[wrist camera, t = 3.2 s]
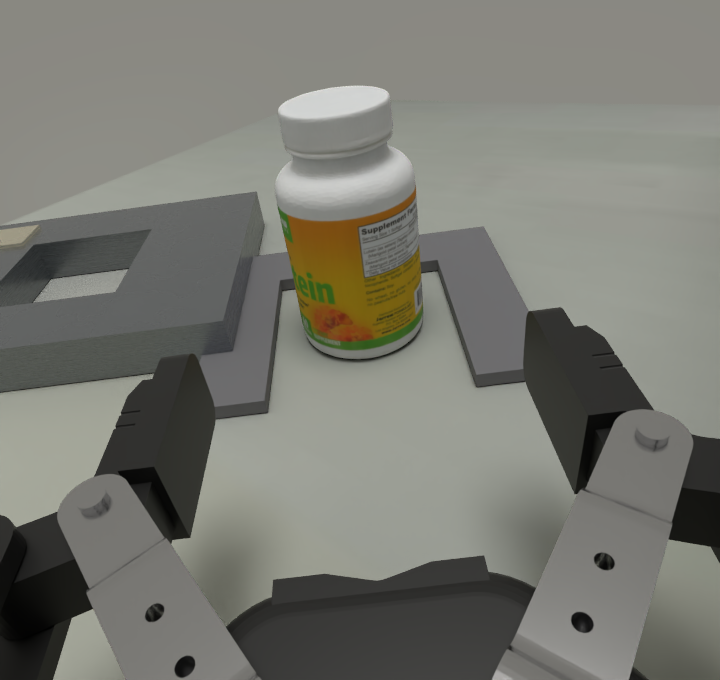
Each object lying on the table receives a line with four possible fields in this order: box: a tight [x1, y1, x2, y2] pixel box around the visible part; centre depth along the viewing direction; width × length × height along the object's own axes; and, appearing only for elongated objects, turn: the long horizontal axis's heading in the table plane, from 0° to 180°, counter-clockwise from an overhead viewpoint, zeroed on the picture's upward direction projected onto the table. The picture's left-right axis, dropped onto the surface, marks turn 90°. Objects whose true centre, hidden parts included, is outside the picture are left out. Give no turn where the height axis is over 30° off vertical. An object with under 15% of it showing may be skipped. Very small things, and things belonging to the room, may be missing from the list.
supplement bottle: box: [275, 86, 423, 359], centre depth 23 cm, size 5×5×10 cm
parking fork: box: [200, 226, 529, 419], centre depth 26 cm, size 12×14×1 cm
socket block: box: [0, 192, 264, 392], centre depth 29 cm, size 18×14×2 cm
